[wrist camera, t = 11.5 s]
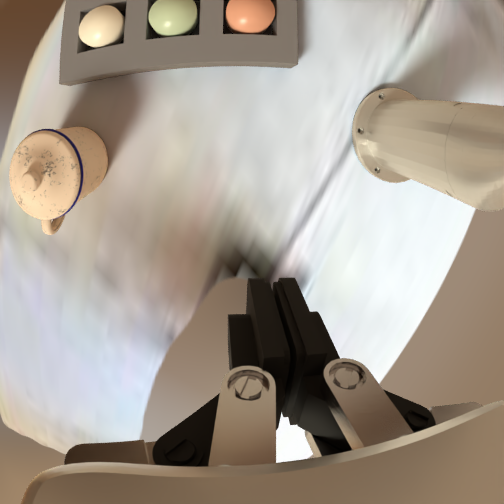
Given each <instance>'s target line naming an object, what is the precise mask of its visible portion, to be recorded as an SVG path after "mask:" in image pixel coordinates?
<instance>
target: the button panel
mask: <svg viewBox="0 0 504 504" xmlns="http://www.w3.org/2000/svg"><path fill="white" fill-rule="evenodd" d="M156 1H157V0H66V5H65V12H64V20H63V29H62V40H61V53H60V80H59V84H62V85H68V86H72V85H76V84H80V83H85V82H89V81H94V80H99V79H104V78H109V77H115V76H120V75H127V74H133V73H140V72H148V71H156V70H166V69H177V68H191V67H212V66H260V67H281V68H292V67H294V66H295V65H297V64H298V28H297V0H271V2H272V3H273V5H274V8H275V16H274V19H273V21H272V35H255V34H223V1H224V0H193V1H200V26H199V35H188V36H176V37H165V38H157V39H151V34H152V26H151V24H150V22H149V11H150V9H151V7H152V5H153V4H154V3H155V2H156ZM104 5H109V6H113V7H115V8H116V9H117V10H118V11H122V10H126V16H125V30H124V43H123V44H118V45H112V46H107V47H103V48H98V49H94V50H89V51H87V44H85V43H84V42H83V41H82V40H81V39H80V37H79V26H80V23H81V21H82V20H83V18H84V17H85V16H86V15H87V14H88V13H89V12H90V11H91V10H93V9H95V8H97V7H99V6H104Z"/></svg>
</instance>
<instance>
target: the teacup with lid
mask: <svg viewBox="0 0 504 504" xmlns="http://www.w3.org/2000/svg"><path fill="white" fill-rule="evenodd" d="M107 165H108V156H107V151H106V147H105V145H104V143H103V141H102V139H101V138H100V137H99V136H98V135H97V134H96V133H95V132H94V131H92V130H90V129H88V128H85V127H70V128H63V129H56V130H53V129H41V130H38V131H35V132H33V133H31V134H30V135H28V136H27V137H26V138H25V139H24V140H23V141H22V142H21V143H20V144H19V146H18V147H17V149H16V151H15V153H14V155H13V157H12V161H11V165H10V185H11V189H12V193H13V195H14V197H15V199H16V201H17V203H18V204H19V206H20V207H21V208H22V209H23V210H24V211H25V212H26V213H28V214H29V215H31V216H33V217H35V218H38V219H42V220H41V224H42V229H43V231H44V233H46V234H49V235H53V234H55V233H56V232H57V231H58V229H59V228H60V226H61V224H62V222H63V220H64V217H65V214H66V213H67V212H69V211H70V210H71V209H72V208H73V206H74V205H75V204H76V203H77V202H78V201H80V200H81V199H83V198H84V197H85V196H87V195H88V194H90V193H91V192H92V191H94V190H95V189H96V188H97V187H98V186H99V185H100V183H101V182H102V180H103V179H104V176H105V174H106V171H107ZM52 219H53V221H52V223H51V220H52Z"/></svg>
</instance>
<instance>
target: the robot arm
mask: <svg viewBox="0 0 504 504" xmlns="http://www.w3.org/2000/svg"><path fill="white" fill-rule="evenodd" d="M379 96H380V97H379ZM358 129H359V132H358ZM352 139H353V145H354V149H355V152H356V154H357V156H358V159H359V160H360V162H361V163H362V165H363V166H364V168H365V169H366V170H367V171H368V172H369V173H371V174H372V175H374V176H375V177H377V178H379V179H381V180H383V181H387V182H391V183H399V182H405V181H407V180H410V179H412V180H415V181H417V182H419V183H422V184H424V185H426V186H429V187H431V188H433V189H436V190H438V191H440V192H442V193H444V194H447V195H449V196H451V197H453V198H455V199H457V200H459V201H461V202H463V203H466V204H468V205H470V206H472V207H474V208H477V209H479V210H483V211H497V210H501V209H504V106H498V105H489V104H479V103H468V102H456V101H440V100H418V99H417V98H416V97H415V96H414V95H412V94H410V93H409V92H407V91H405V90H402V89H398V88H384V89H380V90H377V91H375V92H373V93H371V94H369V95H368V96H367V97H366V98H365V99H364V100H363V101H362V103H361V104H360V105H359V107H358V109H357V111H356V113H355V116H354V120H353V126H352ZM375 168H376V169H375ZM247 285H248V286H247V306H246V314H233V315H228V350H229V351H228V352H229V367H230V371H229V372H228V373H227V374H226V375H225V376H224V377H223V380H222V383H221V389H220V393H219V394H218V395H217V396H216V397H214V398H213V399H212V400H210V401H209V402H208V403H206V404H205V405H204V406H203V407H201V408H200V409H199V410H197V411H196V412H195V413H193V414H192V415H191V416H189V417H188V418H186V419H185V420H184V421H182V422H181V423H179V424H178V425H177V426H175V427H174V428H172V429H171V430H170V431H168V432H167V433H165V434H164V435H163V436H161V437H160V438H159V439H158V440H157V441H155V442H146V443H145V442H144V440H136V441H125V442H111V443H89V444H79V445H75V446H74V447H72V448H71V449H70V450H69V451H68V452H67V454H66V456H65V461H64V465H62V466H57V467H54V468H51V469H48V470H45V471H43V472H41V473H40V474H39V475H37V476H36V477H35V478H34V479H33V480H32V481H31V483H30V484H29V486H28V488H27V489H26V492H25V494H24V496H23V499H22V501H21V504H504V400H503V401H498V402H494V403H491V404H488V405H485V406H482V405H480V404H479V403H476V402H469V403H461V404H454V405H445V406H435V407H431V408H430V409H429V410H428V409H427V408H425V407H423V406H421V405H419V404H416V403H414V402H411V401H409V400H407V399H404V398H402V397H400V396H397V395H395V394H392V393H390V392H388V391H385V390H383V389H382V388H381V386H380V385H379V383H378V382H377V381H376V379H375V378H374V377H373V375H372V374H371V373H370V371H369V370H368V369H367V368H366V367H365V366H364V365H363V364H362V363H360V362H358V361H356V360H353V359H347V358H341V359H340V357H339V355H338V353H337V351H336V349H335V346H334V344H333V342H332V340H331V338H330V336H329V333H328V331H327V329H326V327H325V325H324V323H323V321H322V318H321V316H320V314H319V313H318V312H310V311H309V309H308V306H307V304H306V302H305V300H304V297H303V295H302V293H301V290H300V288H299V286H298V284H297V281H296V279H295V278H279V280H278V282H274V283H273V289H272V288H271V285H270V282H265V281H264V278H248V284H247ZM281 412H282V414H283V417H289V422H290V425H296V424H297V425H298V426H299V427H300V428H302V429H304V430H305V436H306V439H307V441H308V443H309V445H310V448H311V450H312V452H313V454H314V456H315V458H310V459H303V460H296V461H289V462H281V463H276V430H277V429H278V426H279V421H280V417H281Z"/></svg>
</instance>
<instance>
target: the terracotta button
mask: <svg viewBox="0 0 504 504" xmlns="http://www.w3.org/2000/svg"><path fill="white" fill-rule="evenodd" d="M274 16H275V8H274V5H273V3H272V2H271V0H230V1H229V3H228V5H227V9H226V16H225V21H226V25H227V27H228V28H229V30H230V31H231V32H233V33H234V34H255V35H261V34H262V33H264V32H265V31H266V30H267V28H268V27H269V25H270V24H271V22H272V21H273V19H274Z"/></svg>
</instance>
